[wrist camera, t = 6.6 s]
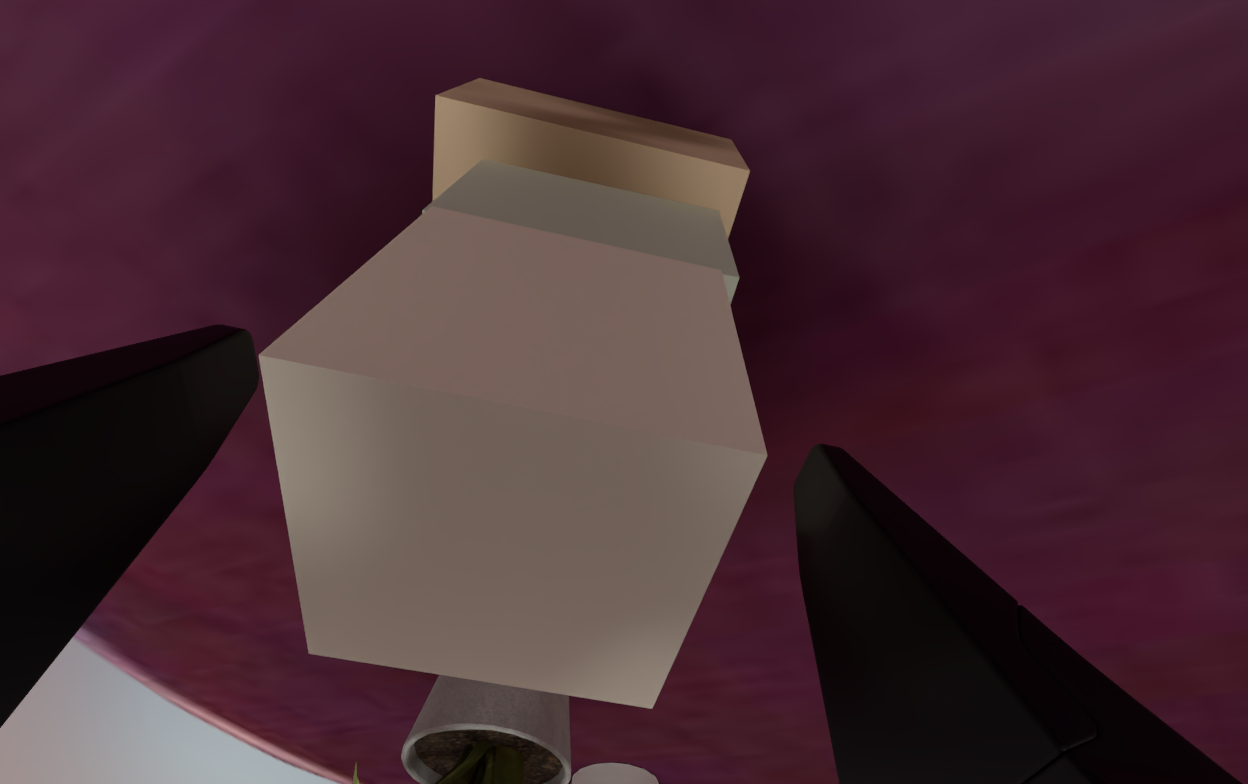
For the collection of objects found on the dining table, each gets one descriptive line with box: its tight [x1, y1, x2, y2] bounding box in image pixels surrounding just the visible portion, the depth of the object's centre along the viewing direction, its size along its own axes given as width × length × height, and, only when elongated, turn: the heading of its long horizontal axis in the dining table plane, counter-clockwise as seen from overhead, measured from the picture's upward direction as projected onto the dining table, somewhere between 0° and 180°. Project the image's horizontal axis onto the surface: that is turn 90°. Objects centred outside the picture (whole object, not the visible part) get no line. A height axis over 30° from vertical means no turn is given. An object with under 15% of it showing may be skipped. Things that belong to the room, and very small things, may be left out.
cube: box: [259, 206, 767, 709], centre depth 9 cm, size 5×5×5 cm
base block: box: [433, 78, 750, 239], centre depth 16 cm, size 7×7×4 cm
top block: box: [422, 159, 739, 305], centre depth 13 cm, size 6×6×4 cm
